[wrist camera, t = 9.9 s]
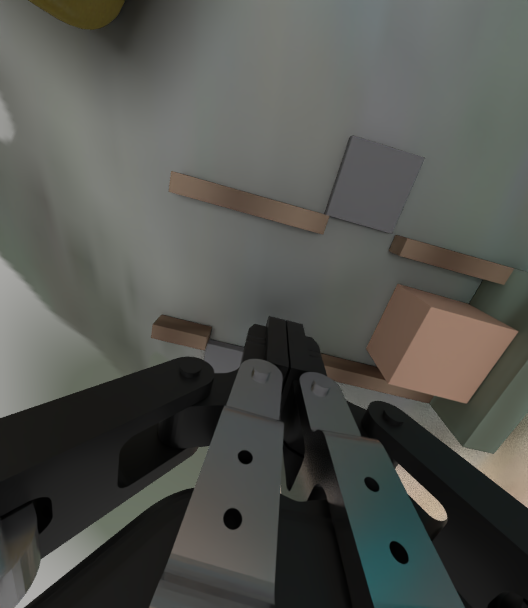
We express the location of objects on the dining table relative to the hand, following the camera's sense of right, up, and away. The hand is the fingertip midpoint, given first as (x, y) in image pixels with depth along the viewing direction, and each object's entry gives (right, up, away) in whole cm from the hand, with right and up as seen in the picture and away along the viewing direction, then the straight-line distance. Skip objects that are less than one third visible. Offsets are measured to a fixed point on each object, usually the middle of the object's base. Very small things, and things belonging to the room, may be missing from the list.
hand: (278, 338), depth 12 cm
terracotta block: (+10, 0, +7) cm, 12 cm away
